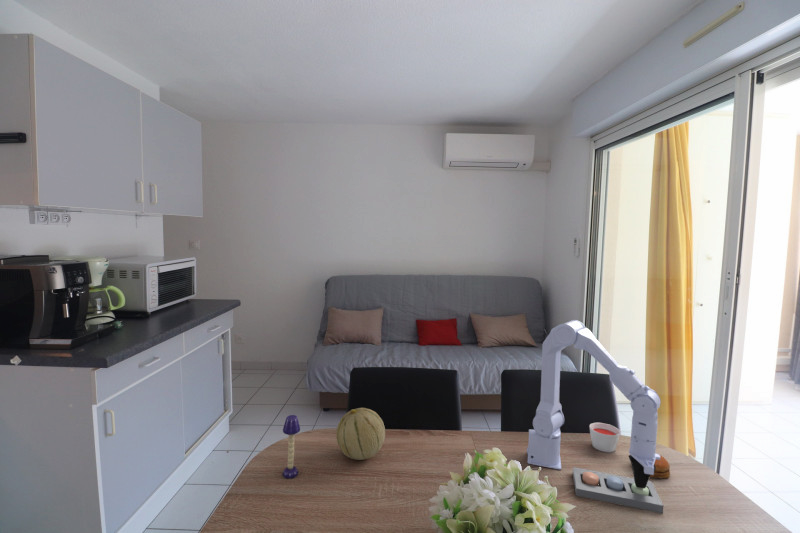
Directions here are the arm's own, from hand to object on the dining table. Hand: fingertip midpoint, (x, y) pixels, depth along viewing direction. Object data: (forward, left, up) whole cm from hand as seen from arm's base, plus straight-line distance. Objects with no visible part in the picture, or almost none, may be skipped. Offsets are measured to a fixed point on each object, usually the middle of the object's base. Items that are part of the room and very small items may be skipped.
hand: (640, 486), depth 108 cm
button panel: (-6, 0, -3) cm, 7 cm away
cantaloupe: (-77, -8, -3) cm, 77 cm away
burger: (+6, +16, -3) cm, 17 cm away
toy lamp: (-91, -24, -3) cm, 94 cm away
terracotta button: (-12, 0, -2) cm, 12 cm away
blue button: (-6, 0, -2) cm, 6 cm away
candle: (-5, +26, -3) cm, 27 cm away
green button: (0, 0, -2) cm, 2 cm away
